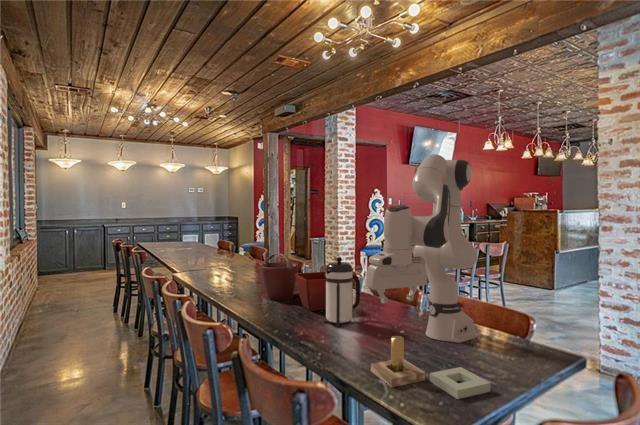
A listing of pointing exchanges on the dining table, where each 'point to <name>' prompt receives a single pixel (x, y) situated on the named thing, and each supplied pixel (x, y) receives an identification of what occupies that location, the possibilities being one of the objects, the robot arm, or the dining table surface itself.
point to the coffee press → (340, 292)
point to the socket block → (459, 390)
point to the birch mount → (399, 378)
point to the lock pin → (397, 354)
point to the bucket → (278, 278)
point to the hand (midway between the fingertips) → (397, 301)
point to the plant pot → (312, 289)
